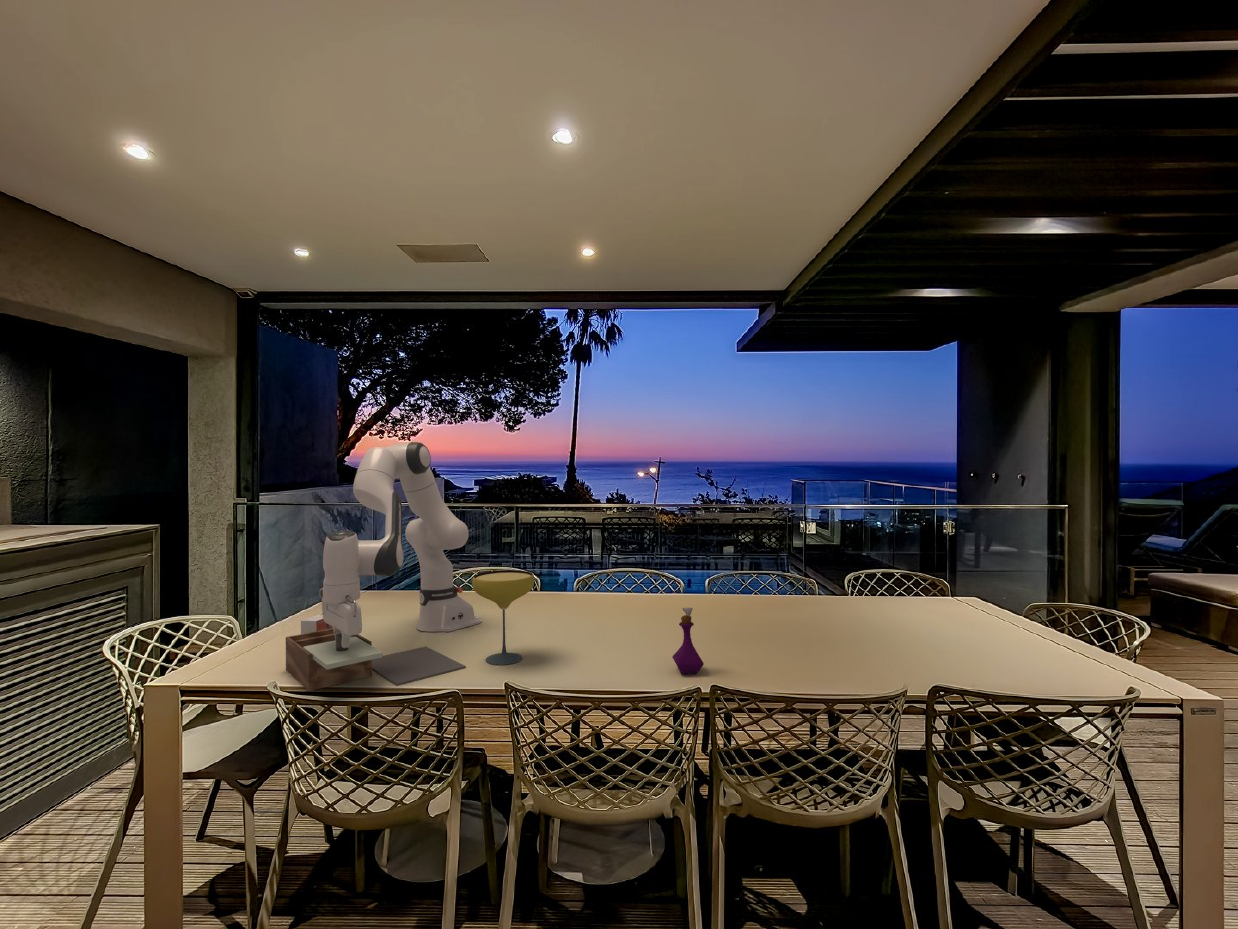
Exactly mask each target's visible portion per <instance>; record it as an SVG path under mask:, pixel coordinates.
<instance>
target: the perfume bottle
mask: <svg viewBox="0 0 1238 929" xmlns="http://www.w3.org/2000/svg"><path fill="white" fill-rule="evenodd" d="M682 611H683V612H684V613H685V615H682V616H681V617H680V619H681V621H680V622H679V626H680V627H681V628H682V631H683V640H682V641H683V642H682V645H681V646H680V647H679V649H678V650H677V651H676V652H675V653H674V654H673V655H672V659H673V661H674V663H675V665H676V667H677V669H678V670H679V673H680V674H681V675H685V676H687V675H697V674H698V673H699V671H701V670H702V667H703V666H704V664H705V663H704V662H703V660H702V658H701V657H700V655H699V653H698V651H697V650H696V648H695V646H694V644H693V641H692V640H693V639H692V638H691V636H692V635H691V628H692V627H693V626H694V625H695V624H694V622H693V621H692V612H693V607H682Z"/></svg>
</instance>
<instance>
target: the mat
mask: <svg viewBox="0 0 1238 929" xmlns="http://www.w3.org/2000/svg"><path fill="white" fill-rule="evenodd" d="M466 667H467V666H466V665H464V664H463V663H461V662H459V661H456V660H454V659H453V658H451V657H448V656H446V655H444V654H442V653H440V652H438V651H436V650H435V649H432V648H430V647H428V646H421V647H417V648H412V649H408V650H403V651H399V652H394V653H390V654H385V655H384V654H383V657H381V658H376V659H372V671H374V672H375V673H377V674H379V675H380V676H381V677H383V678H385V679H386V680H387V681H388V682H390V683H392V684H394V685H395V686H396V687H397V686H401V685H405V684H408V683H413V682H417V681H421V680H424V679H428V678H431V677H436V676H439V675H445V674H448V673H451V672H455V671H459V670H462V669H467V668H466Z"/></svg>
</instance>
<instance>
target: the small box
mask: <svg viewBox="0 0 1238 929" xmlns="http://www.w3.org/2000/svg"><path fill="white" fill-rule="evenodd" d="M328 629H333V627H332V626H331V625H329V624H327V623H325V622H324V619H323V614H316V615H313V616H310V617H308V618H305V619H302V620H300V634H305V633H311V632H316V631H322V630H328Z"/></svg>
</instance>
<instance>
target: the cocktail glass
mask: <svg viewBox="0 0 1238 929" xmlns="http://www.w3.org/2000/svg"><path fill="white" fill-rule="evenodd" d="M471 582H472V583H471V584H472V589H473V591H474V592H475V593H476V594H477V595H479V596H481V597H482V598H485V599H487V600H489V601H491V602H493V603H495V604H496V605H497V606H498V608H499V609H500V610H502V648H501V652H500V653H499V652H498V653H495V654H491V655H489V656H487V657H485V662H486V663H487V664H490V665H494V666H508V665H513V664H514V665H515V664H517V663H520V662H521V661H522V660H523V656H522V654H520V653H517V652H507V648H506V647H507V646H506V610H507V609H508V608H509V607H510V605H511V604H512V602H514V601H516V600H517V599H520V598H521V597H523V596H525V595H526V594H528V593H529V592H530V591H531V590H533V588H534V585H535V575H534V573H533V572H531V571H528V570H519V569H517V570H515V569H507V570H506V569H505V570H502V569H501V570H491V571H484V572H480V573H479V572H478V573H477V574H475V575H473V577H472V580H471Z"/></svg>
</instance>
